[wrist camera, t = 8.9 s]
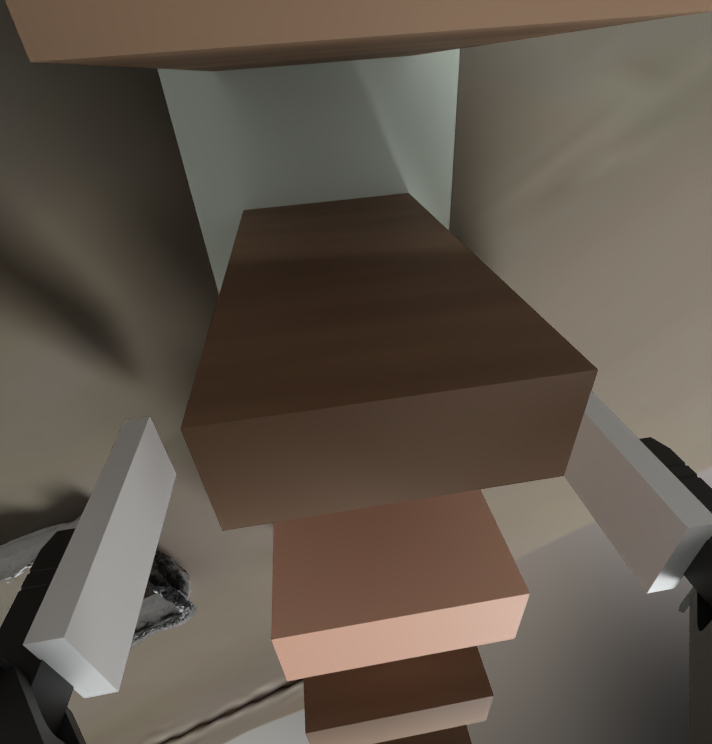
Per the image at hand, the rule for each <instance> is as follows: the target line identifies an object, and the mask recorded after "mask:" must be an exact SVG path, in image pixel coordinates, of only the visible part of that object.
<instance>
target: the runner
mask: <svg viewBox="0 0 712 744" xmlns="http://www.w3.org/2000/svg"><path fill="white" fill-rule="evenodd" d="M459 55H460V49H453V50H447V51H440V52H433V53H426V54H420V55H413V56H403V57H391V58H378V59H365V60H353V61H340V62H327V63H315V64H302V65H289V66H277V67H264V68H252V69H239V70H226V71H195V70H176V69H157V70H158V73H159V77H160V81H161V84H162V88H163V92H164V95H165V99H166V103H167V106H168V110H169V114H170V117H171V121H172V125H173V128H174V132H175V136H176V139H177V143H178V147H179V150H180V154H181V158H182V161H183V165H184V168H185V172H186V176H187V179H188V183H189V187H190V190H191V194H192V198H193V201H194V205H195V209H196V212H197V216H198V220H199V223H200V227H201V231H202V234H203V238H204V242H205V245H206V249H207V253H208V256H209V260H210V264H211V267H212V271H213V275H214V278H215V282H216V286H217V289H218V293H220V290H221V286H222V283H223V279H224V276H225V272H226V269H227V266H228V262H229V259H230V255H231V252H232V248H233V245H234V241H235V238H236V234H237V231H238V227H239V224H240V220H241V217H242V213H243V210H250V209H259V208H269V207H278V206H288V205H297V204H307V203H317V202H326V201H336V200H345V199H355V198H365V197H374V196H384V195H393V194H403V193H409V194H410V195H411V196H413V197H414V198H415V199H416V200H417V201H418V202H419V203H420V204H421V205H422V206H423V207H424V208H425V209H426V210H428V211H429V212H430V213H431V214H432V215H433V216H434V217H435V218H436V219H437V220H438V221H439V222H440V223H441V224H443V225H444V226H445V227H446V228H447V229H448V230H449V222H450V206H451V189H452V172H453V155H454V139H455V122H456V105H457V88H458V72H459Z"/></svg>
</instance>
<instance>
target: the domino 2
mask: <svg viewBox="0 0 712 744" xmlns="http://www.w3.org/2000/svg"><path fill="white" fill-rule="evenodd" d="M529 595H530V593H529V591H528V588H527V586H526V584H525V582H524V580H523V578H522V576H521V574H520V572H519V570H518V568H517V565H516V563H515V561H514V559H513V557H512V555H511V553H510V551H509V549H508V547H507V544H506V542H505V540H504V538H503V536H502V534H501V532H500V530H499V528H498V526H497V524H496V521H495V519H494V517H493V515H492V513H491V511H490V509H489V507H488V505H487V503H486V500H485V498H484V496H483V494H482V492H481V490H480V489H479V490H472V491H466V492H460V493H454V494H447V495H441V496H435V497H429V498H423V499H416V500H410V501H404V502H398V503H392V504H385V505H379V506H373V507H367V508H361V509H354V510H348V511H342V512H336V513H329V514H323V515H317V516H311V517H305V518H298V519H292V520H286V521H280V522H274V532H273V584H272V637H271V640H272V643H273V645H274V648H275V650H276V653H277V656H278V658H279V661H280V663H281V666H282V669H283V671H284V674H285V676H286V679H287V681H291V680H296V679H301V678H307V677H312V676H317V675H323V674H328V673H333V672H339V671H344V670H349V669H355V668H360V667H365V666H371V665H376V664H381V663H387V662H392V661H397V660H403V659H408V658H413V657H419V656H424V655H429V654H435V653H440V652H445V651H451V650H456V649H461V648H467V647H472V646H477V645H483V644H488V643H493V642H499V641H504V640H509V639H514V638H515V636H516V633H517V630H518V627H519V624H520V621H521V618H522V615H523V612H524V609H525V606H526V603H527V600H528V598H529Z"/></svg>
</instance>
